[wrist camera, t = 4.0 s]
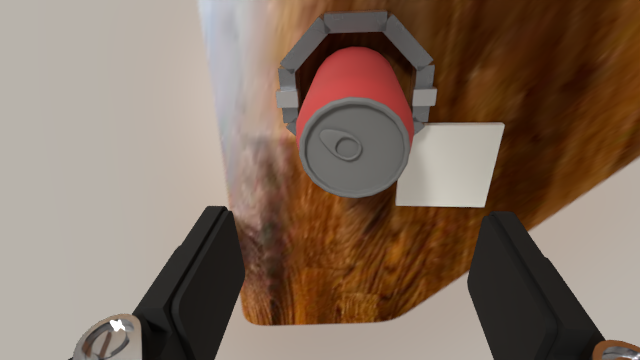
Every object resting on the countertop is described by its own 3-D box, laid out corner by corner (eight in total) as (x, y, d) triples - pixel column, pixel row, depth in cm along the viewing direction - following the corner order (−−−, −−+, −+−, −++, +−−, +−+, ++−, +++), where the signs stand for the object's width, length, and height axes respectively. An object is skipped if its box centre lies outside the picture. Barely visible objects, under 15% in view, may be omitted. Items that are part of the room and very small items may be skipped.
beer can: (340, 27, 25) (330, 58, 15) (413, 73, 26) (450, 132, 16) (299, 101, 28) (267, 170, 18) (366, 139, 29) (371, 225, 19)
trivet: (402, 122, 28) (402, 125, 28) (501, 122, 27) (504, 125, 27) (395, 202, 32) (395, 205, 32) (482, 203, 31) (484, 207, 31)
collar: (276, 13, 25) (267, 17, 22) (437, 7, 24) (447, 10, 21) (289, 150, 30) (283, 165, 28) (420, 151, 29) (426, 166, 27)
